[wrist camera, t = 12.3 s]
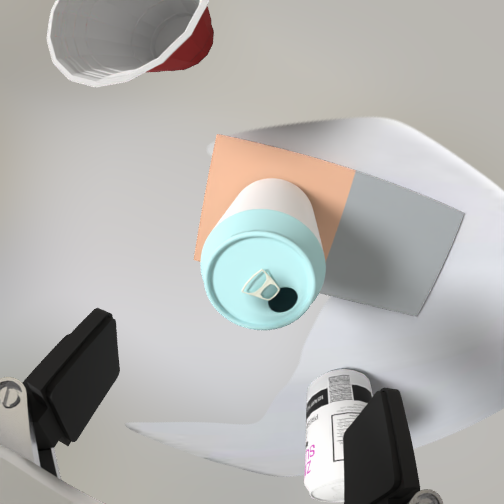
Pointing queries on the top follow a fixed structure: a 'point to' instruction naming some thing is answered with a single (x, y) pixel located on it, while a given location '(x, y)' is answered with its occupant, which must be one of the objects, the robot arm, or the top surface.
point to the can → (264, 257)
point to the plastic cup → (127, 38)
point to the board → (345, 222)
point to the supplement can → (331, 429)
